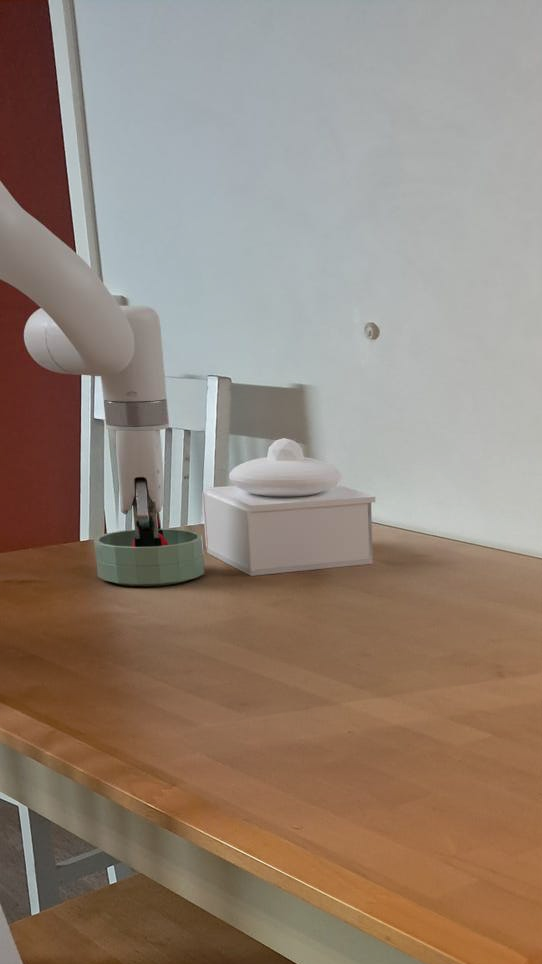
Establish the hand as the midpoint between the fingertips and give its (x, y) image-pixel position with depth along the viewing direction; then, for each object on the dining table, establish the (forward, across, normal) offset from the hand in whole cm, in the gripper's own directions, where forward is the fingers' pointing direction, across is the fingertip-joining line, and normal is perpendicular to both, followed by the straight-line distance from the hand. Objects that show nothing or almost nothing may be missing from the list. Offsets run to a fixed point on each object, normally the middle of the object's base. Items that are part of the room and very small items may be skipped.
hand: (151, 564), depth 163 cm
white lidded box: (+2, -10, +18) cm, 21 cm away
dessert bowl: (+2, 0, 0) cm, 2 cm away
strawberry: (+1, 0, 0) cm, 1 cm away
